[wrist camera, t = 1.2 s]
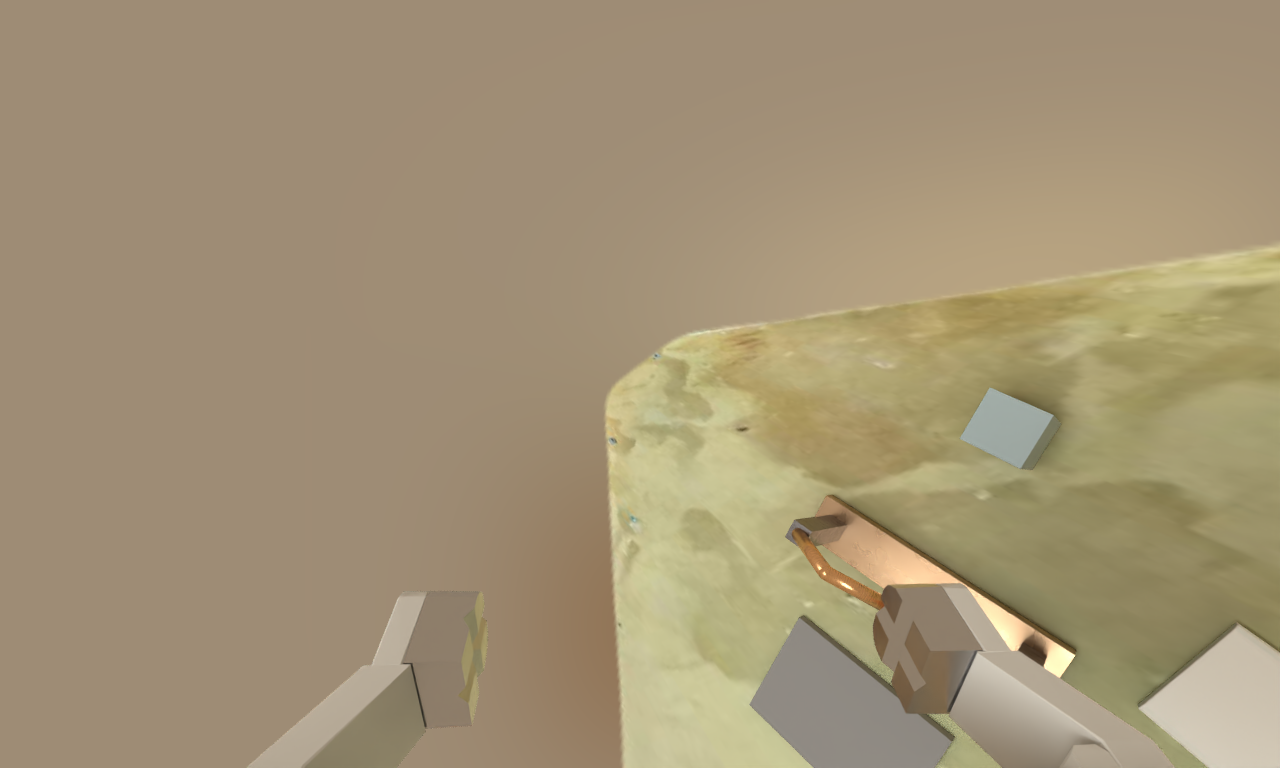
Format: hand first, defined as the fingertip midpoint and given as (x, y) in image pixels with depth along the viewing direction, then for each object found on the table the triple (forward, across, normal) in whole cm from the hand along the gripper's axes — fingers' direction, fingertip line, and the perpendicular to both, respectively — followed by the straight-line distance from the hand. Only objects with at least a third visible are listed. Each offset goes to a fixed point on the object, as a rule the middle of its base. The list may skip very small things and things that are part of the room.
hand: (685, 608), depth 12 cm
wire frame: (+25, -25, +27) cm, 44 cm away
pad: (+22, -19, +39) cm, 49 cm away
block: (+29, -30, +14) cm, 44 cm away
